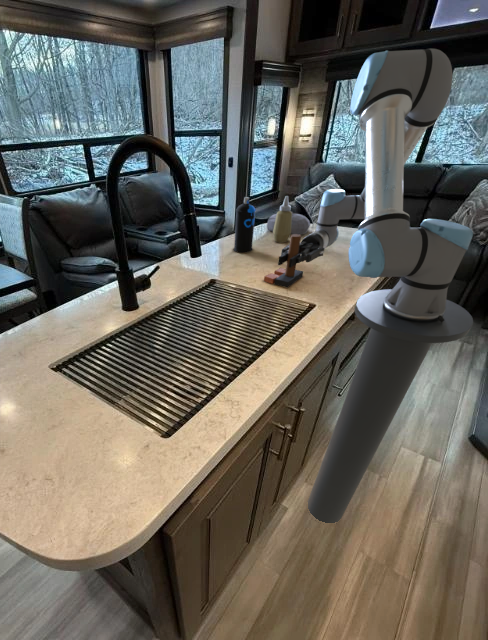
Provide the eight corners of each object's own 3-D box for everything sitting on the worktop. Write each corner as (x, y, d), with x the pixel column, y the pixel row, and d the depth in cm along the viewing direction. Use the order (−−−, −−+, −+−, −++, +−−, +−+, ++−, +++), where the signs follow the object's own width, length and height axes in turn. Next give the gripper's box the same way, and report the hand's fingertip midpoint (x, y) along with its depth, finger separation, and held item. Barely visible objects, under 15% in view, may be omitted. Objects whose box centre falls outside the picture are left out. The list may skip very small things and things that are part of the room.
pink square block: (289, 274, 123) (289, 269, 122) (284, 278, 121) (284, 273, 119) (279, 272, 125) (279, 267, 124) (274, 275, 123) (274, 270, 121)
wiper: (302, 276, 121) (310, 232, 111) (287, 287, 114) (294, 241, 104) (289, 273, 123) (297, 230, 113) (274, 284, 116) (280, 238, 106)
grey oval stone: (262, 232, 165) (300, 238, 155) (264, 213, 160) (304, 218, 150) (277, 225, 174) (314, 230, 164) (279, 207, 168) (317, 211, 159)
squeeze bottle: (288, 244, 150) (295, 198, 138) (270, 243, 152) (275, 197, 140) (290, 239, 155) (297, 194, 143) (273, 238, 158) (278, 194, 146)
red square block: (279, 281, 119) (280, 276, 118) (272, 284, 117) (273, 279, 116) (270, 278, 121) (271, 273, 120) (263, 281, 119) (264, 276, 118)
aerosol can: (229, 250, 146) (232, 198, 133) (240, 245, 151) (243, 194, 137) (245, 254, 142) (249, 200, 129) (256, 249, 146) (260, 196, 133)
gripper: (333, 258, 122) (305, 278, 109) (292, 250, 130) (262, 268, 117) (338, 236, 117) (310, 254, 104) (295, 229, 125) (264, 246, 112)
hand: (285, 262), depth 110 cm, fingers closed on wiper, 3 cm apart
